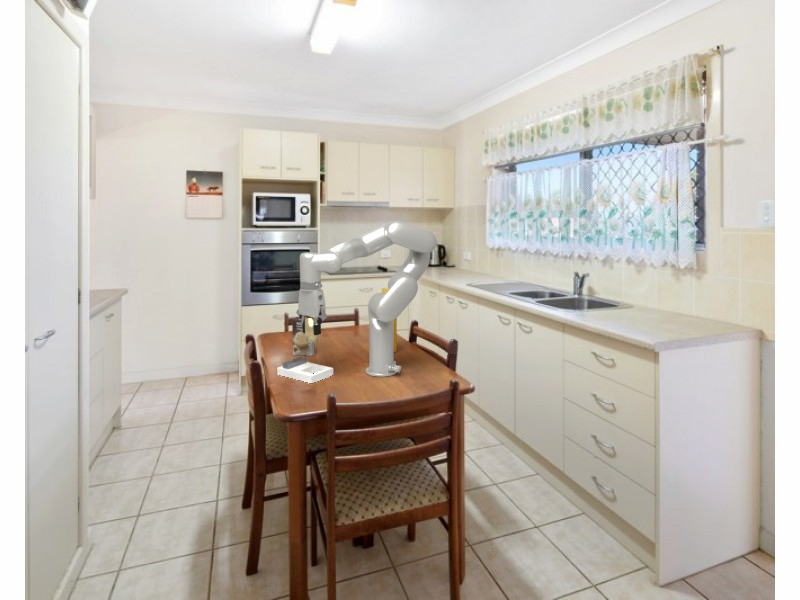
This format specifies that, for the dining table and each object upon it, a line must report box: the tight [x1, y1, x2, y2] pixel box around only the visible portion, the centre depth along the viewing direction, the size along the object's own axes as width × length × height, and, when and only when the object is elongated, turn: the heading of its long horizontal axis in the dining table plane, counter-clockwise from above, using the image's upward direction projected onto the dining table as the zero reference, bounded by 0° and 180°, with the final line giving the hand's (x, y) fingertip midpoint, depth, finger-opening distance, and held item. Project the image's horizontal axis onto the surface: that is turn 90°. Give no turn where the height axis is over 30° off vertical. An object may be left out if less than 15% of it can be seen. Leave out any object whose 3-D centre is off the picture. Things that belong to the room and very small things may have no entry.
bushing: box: [305, 316, 320, 343], centre depth 181 cm, size 5×5×9 cm
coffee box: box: [291, 316, 317, 357], centre depth 214 cm, size 9×6×16 cm
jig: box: [276, 356, 334, 384], centre depth 186 cm, size 18×12×5 cm, turn 57°
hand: (311, 333), depth 181 cm, fingers closed on bushing, 5 cm apart
